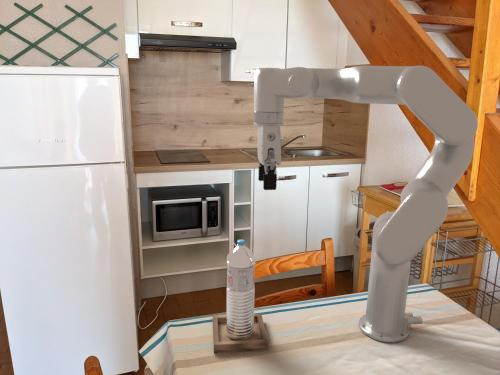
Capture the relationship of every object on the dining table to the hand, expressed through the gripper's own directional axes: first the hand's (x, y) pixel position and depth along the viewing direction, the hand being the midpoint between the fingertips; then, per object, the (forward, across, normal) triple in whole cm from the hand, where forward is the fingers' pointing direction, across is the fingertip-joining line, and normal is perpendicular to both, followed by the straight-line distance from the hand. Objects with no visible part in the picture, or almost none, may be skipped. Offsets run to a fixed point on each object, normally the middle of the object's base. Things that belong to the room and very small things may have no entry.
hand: (266, 184), depth 112 cm
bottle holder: (+36, -12, +8) cm, 39 cm away
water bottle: (+36, -12, +8) cm, 39 cm away
